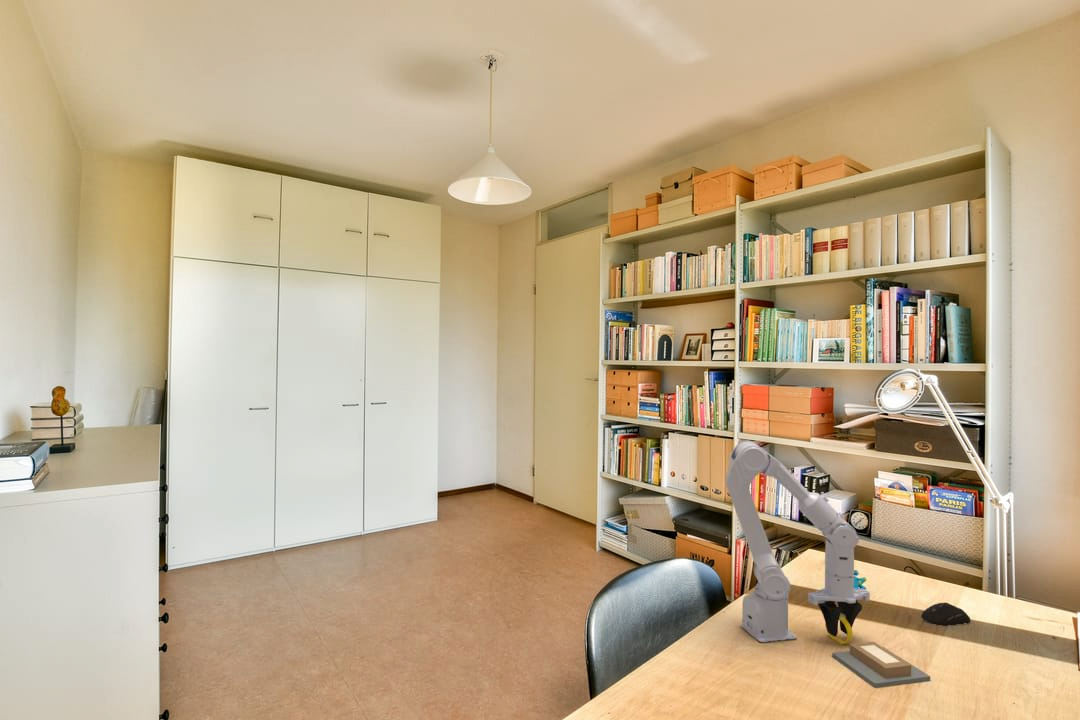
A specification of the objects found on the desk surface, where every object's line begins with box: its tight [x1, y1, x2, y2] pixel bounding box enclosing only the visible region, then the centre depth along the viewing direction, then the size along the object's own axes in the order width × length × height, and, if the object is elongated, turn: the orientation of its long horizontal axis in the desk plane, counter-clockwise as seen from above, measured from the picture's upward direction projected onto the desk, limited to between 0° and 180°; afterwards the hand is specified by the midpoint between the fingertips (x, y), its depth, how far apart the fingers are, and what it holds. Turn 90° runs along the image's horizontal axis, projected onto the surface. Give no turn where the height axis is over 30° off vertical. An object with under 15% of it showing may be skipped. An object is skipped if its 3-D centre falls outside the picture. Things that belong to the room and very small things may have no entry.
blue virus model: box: [854, 569, 868, 590], centre depth 145 cm, size 11×6×10 cm
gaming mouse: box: [920, 602, 971, 627], centre depth 130 cm, size 6×15×4 cm, turn 105°
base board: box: [831, 641, 931, 688], centre depth 108 cm, size 13×11×3 cm
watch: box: [824, 613, 854, 645], centre depth 119 cm, size 6×3×6 cm, turn 21°
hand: (838, 633), depth 119 cm, fingers open, 3 cm apart
